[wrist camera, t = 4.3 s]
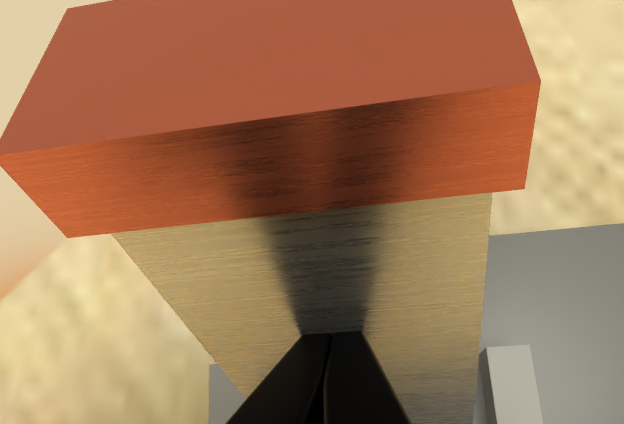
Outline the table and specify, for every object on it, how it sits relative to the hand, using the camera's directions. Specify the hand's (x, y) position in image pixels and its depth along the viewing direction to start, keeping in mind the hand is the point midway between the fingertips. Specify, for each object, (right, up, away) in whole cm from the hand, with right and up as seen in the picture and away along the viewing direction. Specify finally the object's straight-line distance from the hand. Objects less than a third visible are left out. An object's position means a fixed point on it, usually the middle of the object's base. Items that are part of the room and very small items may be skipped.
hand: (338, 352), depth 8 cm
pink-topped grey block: (+1, -2, +4) cm, 4 cm away
